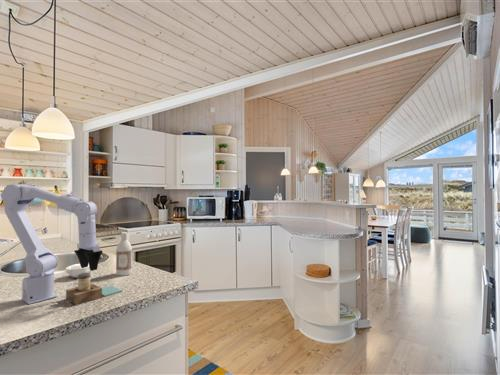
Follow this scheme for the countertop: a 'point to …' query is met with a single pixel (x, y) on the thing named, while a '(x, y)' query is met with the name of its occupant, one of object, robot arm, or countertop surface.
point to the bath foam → (124, 256)
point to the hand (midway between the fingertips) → (89, 268)
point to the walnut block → (83, 294)
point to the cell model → (77, 270)
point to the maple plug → (83, 282)
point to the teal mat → (110, 291)
